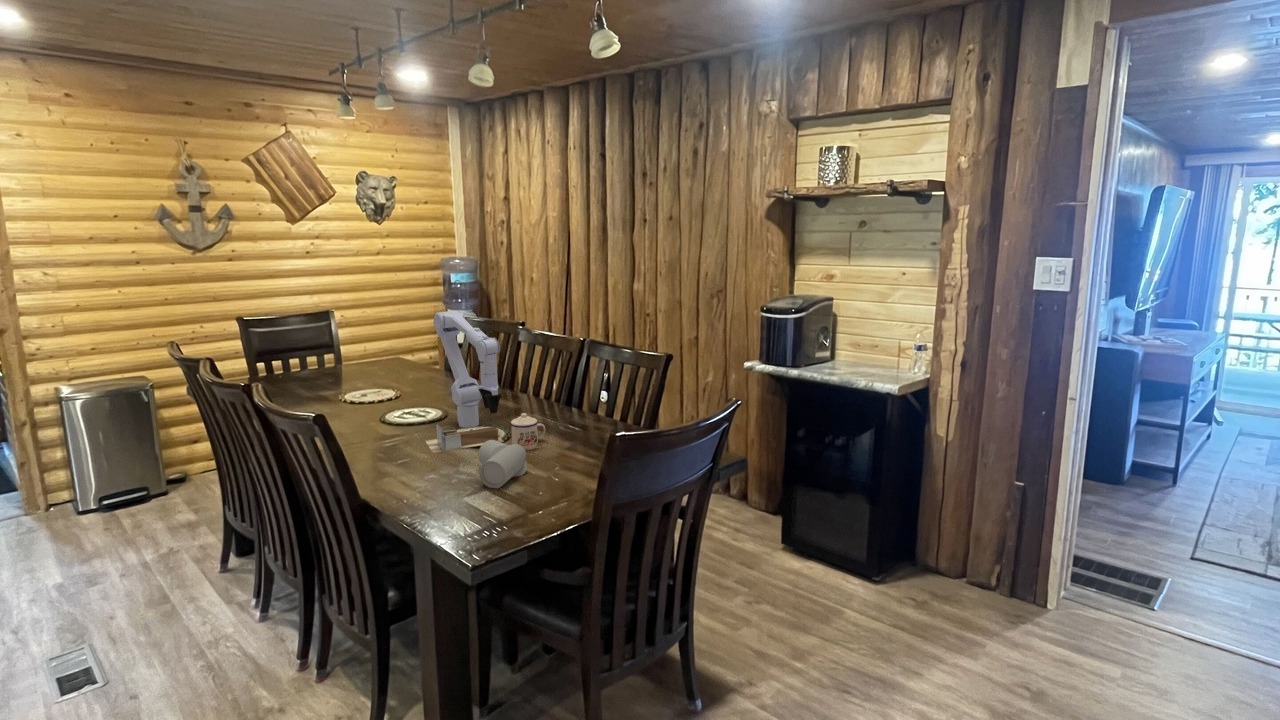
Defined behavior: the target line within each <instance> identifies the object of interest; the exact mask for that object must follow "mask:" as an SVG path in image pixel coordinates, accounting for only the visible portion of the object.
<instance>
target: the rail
mask: <svg viewBox="0 0 1280 720" xmlns="http://www.w3.org/2000/svg"><path fill="white" fill-rule="evenodd" d="M457 434H460V435H461V446H466V445H472V444H479V443H485V442H486V441H488V440H495V441H498V436H499V429H498V428H497V427H496V426H490V427H484V428H477V429H470V430H469V429H468V430H464V431H463V430H462V431H457V432H455V433H448V434H446V436H450V435H457Z"/></svg>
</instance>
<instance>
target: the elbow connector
mask: <svg viewBox="0 0 1280 720" xmlns="http://www.w3.org/2000/svg"><path fill="white" fill-rule="evenodd" d="M477 456H478V461H479V463H480V464H481V465H480V468H479V472H478V473H479V474H478V476H479V479H480V480H481V482H482V483H483V485H484V486H486V487H488V488H490V489H491V488H492V489H499V488H501V487H502V486H503V485H505V484H507V482H508V481H510V479H511V478H514V477H520V476H523V475H524V474H525V473H526V472H527V468H528V462H527V460H526V458H527V452H526V450H525V449H524V448H523V447H522V446H521V445H518V444H506V443H504V442H498V441H495V440H488V441H486V442H485V443H484V444H483V445H481V446H479V449H478V455H477Z"/></svg>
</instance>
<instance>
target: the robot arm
mask: <svg viewBox="0 0 1280 720" xmlns="http://www.w3.org/2000/svg"><path fill="white" fill-rule="evenodd" d="M465 317H466V315H465V313H463V311H462V310H460V309H456V310H451V311H450V310H449V311H441V312H440V311H438V312H435V314H434V316H433V321H432V322H433V326H434V329H435V331H436V335H437V337H438V338H439V339H440V341H441V344H442V346H443V349H444V352H445V355H446V358H447V360H448V365H449V367H450V369H451V372H452V375H453V378H454V382H453V384H452V385H451V386H450V390H451V399H452V401H453V403H454V405H456V406H457V407H456V414H457V417H456V419H457V423H458V426H459V427H460V428H464V429H465V428H466V429H468V428H474V427H478V426H479V425H480V421H479V420H480V419H479V404H480V401H481V400H482V401H483V406H484V409H488V410H489V412H490V414H491V415H492V414H497V412H498V409H499V404H500V400H501V398H502V395H503V394H502V393H500V392H499V388H500V387H499V382H498V381H499V380H498V363H497V362H498V361H497V359H498V357H497V356H498V354H499V353H500V350H501V349H500V348H501V346H500V343H499V341H498V340H497V338H496V337H489V336H488V335H487V334H485V333H484V332H483V331H482V330H481V328H480V327H473V326H472V325H471V324H470V323H469V322H468V320H466V318H465ZM460 332H461V333H462V334H464V335H465V336H466V337H465V338H466V341H468V343H469V344H471V345H472V346H473V347H474V348H475V351H476V354H477V359H478V361H479V365H480V385H479V383H478V381H477V379H475V378H473V377H471V376H470V374H469V372H468V369H467V366H466V363H465V360H464V358H463V355H462V352H461V349H460V347H459V343H458V341H457V335H459V334H460Z"/></svg>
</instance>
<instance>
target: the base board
mask: <svg viewBox="0 0 1280 720" xmlns="http://www.w3.org/2000/svg"><path fill="white" fill-rule="evenodd" d="M424 442H425V443H426V444H427V446H428V448H429V449H430V451H431V452H432V453H435V454H436V453H439V452H440V453H442V452H446V451H447V452H448V451H452V450H453V451H454V450H460V449H467V448H474V447H481V446H482V445H483V444H484V443H479V444H472V445H466V446H461V448H456V449H449V450H444V451H442V450H441V448H440V447H439V446H438V443H437V438H434V439H426V440H424ZM498 442H501V443H504V442H505V440H503V438H501V436H499V435H498Z"/></svg>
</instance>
